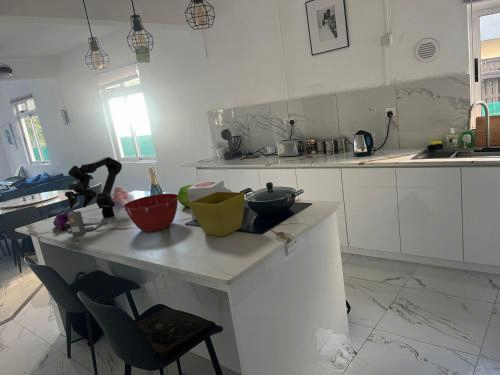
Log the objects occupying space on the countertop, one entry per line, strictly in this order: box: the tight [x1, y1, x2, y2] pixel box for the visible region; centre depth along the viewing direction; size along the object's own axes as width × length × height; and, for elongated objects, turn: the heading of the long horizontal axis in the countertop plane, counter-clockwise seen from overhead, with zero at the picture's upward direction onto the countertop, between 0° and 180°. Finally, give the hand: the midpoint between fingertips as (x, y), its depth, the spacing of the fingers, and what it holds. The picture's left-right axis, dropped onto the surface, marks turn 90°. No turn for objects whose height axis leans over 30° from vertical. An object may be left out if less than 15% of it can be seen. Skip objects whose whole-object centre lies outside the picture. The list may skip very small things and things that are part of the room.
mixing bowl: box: [123, 193, 179, 233], centre depth 197 cm, size 28×28×15 cm
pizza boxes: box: [187, 180, 233, 221], centre depth 207 cm, size 19×30×18 cm, turn 139°
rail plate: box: [67, 220, 103, 234], centre depth 218 cm, size 16×10×3 cm, turn 81°
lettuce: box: [177, 184, 194, 208], centre depth 229 cm, size 15×22×15 cm
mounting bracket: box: [52, 210, 75, 231], centre depth 230 cm, size 10×9×19 cm
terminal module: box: [67, 210, 87, 237], centre depth 206 cm, size 5×6×13 cm
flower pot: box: [190, 191, 245, 237], centre depth 175 cm, size 19×19×17 cm
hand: (77, 208), depth 214 cm, fingers open, 9 cm apart
